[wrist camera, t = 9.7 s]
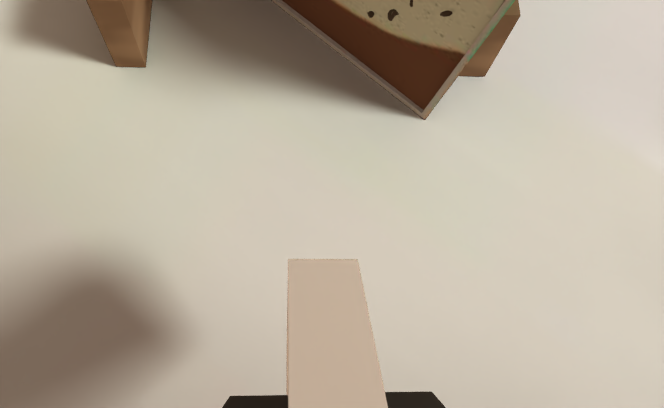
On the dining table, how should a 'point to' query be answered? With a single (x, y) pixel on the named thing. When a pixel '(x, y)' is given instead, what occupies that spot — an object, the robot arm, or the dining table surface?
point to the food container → (403, 39)
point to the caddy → (134, 22)
